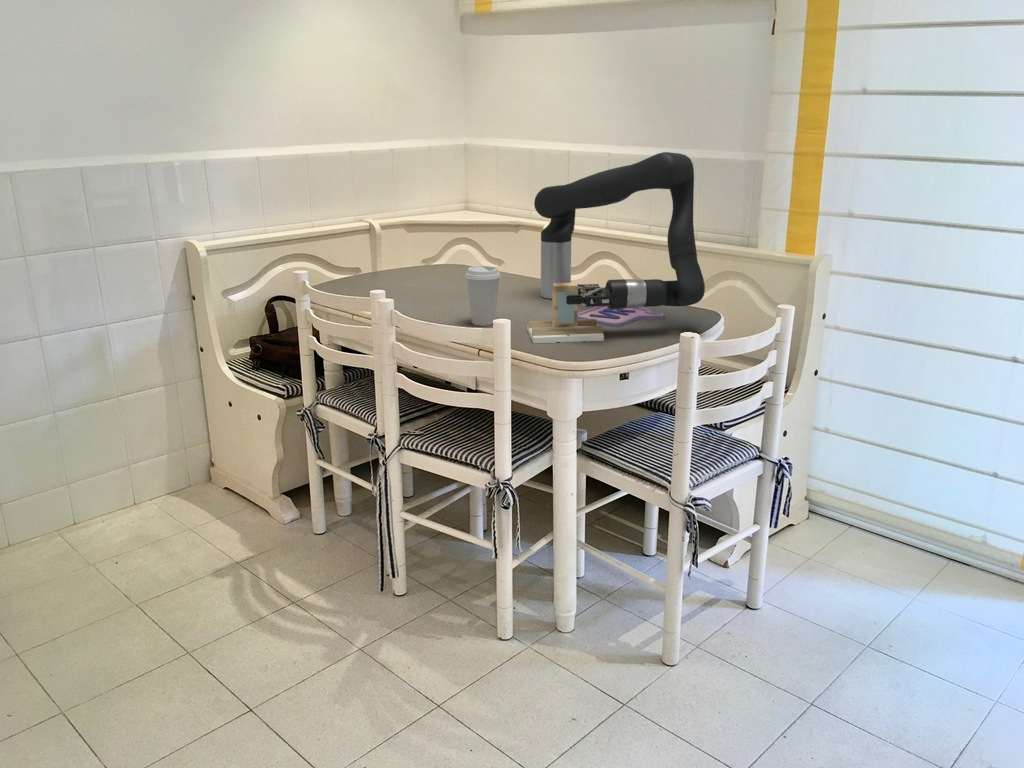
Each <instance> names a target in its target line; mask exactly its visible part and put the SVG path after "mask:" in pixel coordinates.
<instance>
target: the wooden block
mask: <svg viewBox="0 0 1024 768" xmlns="http://www.w3.org/2000/svg"><path fill="white" fill-rule="evenodd" d="M568 295H578V284H577V282H571V283H553V296H552V299H551V300H552V302H551V303H552V304H551V305H552V307H551V310H552V313H551V315H552V316H551V320H552V328H559V327H577V318H578V313H579V311H578V310H579V309H578V307H579V304H571V305H568V304H567V303H566V297H567V296H568Z"/></svg>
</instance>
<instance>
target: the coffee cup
mask: <svg viewBox="0 0 1024 768" xmlns="http://www.w3.org/2000/svg"><path fill="white" fill-rule="evenodd" d="M498 269H499V268H498V267H496V266H493V265H474V266H471V267H468V269H467V272H466V273H465V276H464V277H465V279H466V281H467V288H468V289H467V290H468V299H469V306H470V307H469V308H470V319H471V324H473V325H475V326H479V325H480V326H482V327H487V326H493V325H492V321H493V319H495V318H496V319H497V309H498V307H497V306H498V294H499V279H500V278H501V276H502V275H501V272H500V271H499V270H498ZM480 326H479V327H480Z"/></svg>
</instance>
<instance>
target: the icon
mask: <svg viewBox="0 0 1024 768" xmlns="http://www.w3.org/2000/svg"><path fill="white" fill-rule="evenodd" d="M661 318H665V314H663V313H660V312H654V311H651V309H649V308H646V307H645V308H644V307H639V308H625V309H609V308H608V307H607V306H595V307H590V308H589V309H585V310H583V311H580V312H578V318H577V319H596V320H597V325H600V324H601V325H600V326H605V325H606V326H607V327H612V328H619V327H622V326H625V324H626V325H628V324H631V323H633V322H635V321H634V320H636V321H637V319H638V320H662V319H661ZM632 321H633V322H632ZM630 322H631V323H630Z"/></svg>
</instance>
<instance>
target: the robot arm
mask: <svg viewBox="0 0 1024 768" xmlns="http://www.w3.org/2000/svg"><path fill="white" fill-rule="evenodd" d="M694 170H695V169H694V163H693V161H692V160H691V158H690V157H689V156H688V155H686V154H683V153H680V152H679V153H678V152H671V151H668V152H667V151H663V152H659V153H656V154H653V155H652V156H650V157H647V158H644V159H643V160H641V161H638V162H635V163H632V164H628V165H622V166H618V167H614V168H609V169H607V170H602V171H599V172H596V173H594V174H591V175H588V176H585V177H583V178H580V179H578V180H575V181H573V182H570V183H567V184H560V185H552V186H546V187H543V188H541V189H540V190H539V191H538V192H537V193H536V196H535V197H534V202H533V203H534V204H533V205H534V209H535V211H536V213H537V214H538V215H540V216H541V217H543V218H546V219H550V221H549V224H547V225H546V227H544V228H543V229H542V230H541V233H540V297H541V298H545V299H548V300H549V299H550V300H552V296H553V283H572V280H571V279H572V276H571V275H572V235H573V234H574V233H573V232H574V230H575V223H576V210H579V209H580V210H581V209H591V208H597V207H598V208H599V207H603V206H610V205H612V204H617V203H620V202H622V201H625V200H626V199H628V198H629V197H630V196H632V195H633V194H635V193H637V192H642V191H648V190H658V189H661V190H669V191H670V195H671V201H672V212H671V213H672V214H671V219H670V222H669V225H668V230H667V231H668V232H667V248H668V256H669V257H668V258H669V264H670V267H671V268H672V269H673V270H674V271H675V275H676V280H663V279H659V278H657V279H655V278H653V279H639V278H638V279H637V278H627V279H626V278H625V279H624V278H623V279H622V278H620V279H608V280H607V281H606V284H605V287H601V286H600V284H599V283H594V284H593V283H589V284H587V283H585V284H580V283H579V284H577V285H578V295H568V296H567V297H566V303H567V304H568V305H571V304H578V305H582V306H585V307H586V308H594V307H597V306H607V307H608V308H609V309H625V308H644V307H645V308H647V307H648V308H651V307H652V308H653V307H661V306H664V307H689V306H691V305H694V304H698V303H700V301H701V300H702V299H703V298H704V297H705V291H706V290H705V289H706V287H705V281H704V280H705V279H704V277H703V274H702V270H701V267H700V265H699V262H698V254H697V253H698V252H697V246H696V245H697V244H696V239H695V238H696V237H695V228H694V197H695V196H694V193H695V192H694V191H695V190H694V189H695V186H694V185H695V171H694ZM581 290H582V291H581Z"/></svg>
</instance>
